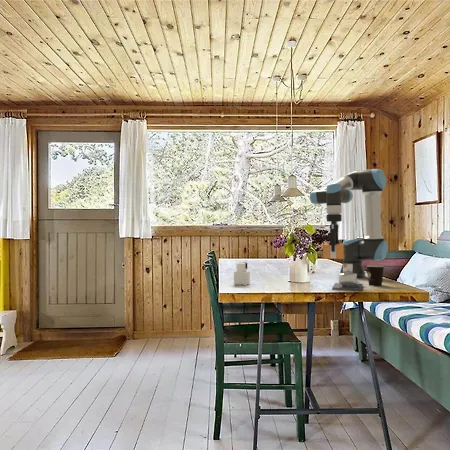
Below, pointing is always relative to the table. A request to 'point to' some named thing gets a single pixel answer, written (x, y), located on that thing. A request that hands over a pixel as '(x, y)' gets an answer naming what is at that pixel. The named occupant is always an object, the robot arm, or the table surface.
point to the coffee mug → (375, 275)
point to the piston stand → (347, 280)
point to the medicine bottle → (241, 274)
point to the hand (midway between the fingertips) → (334, 257)
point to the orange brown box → (339, 251)
